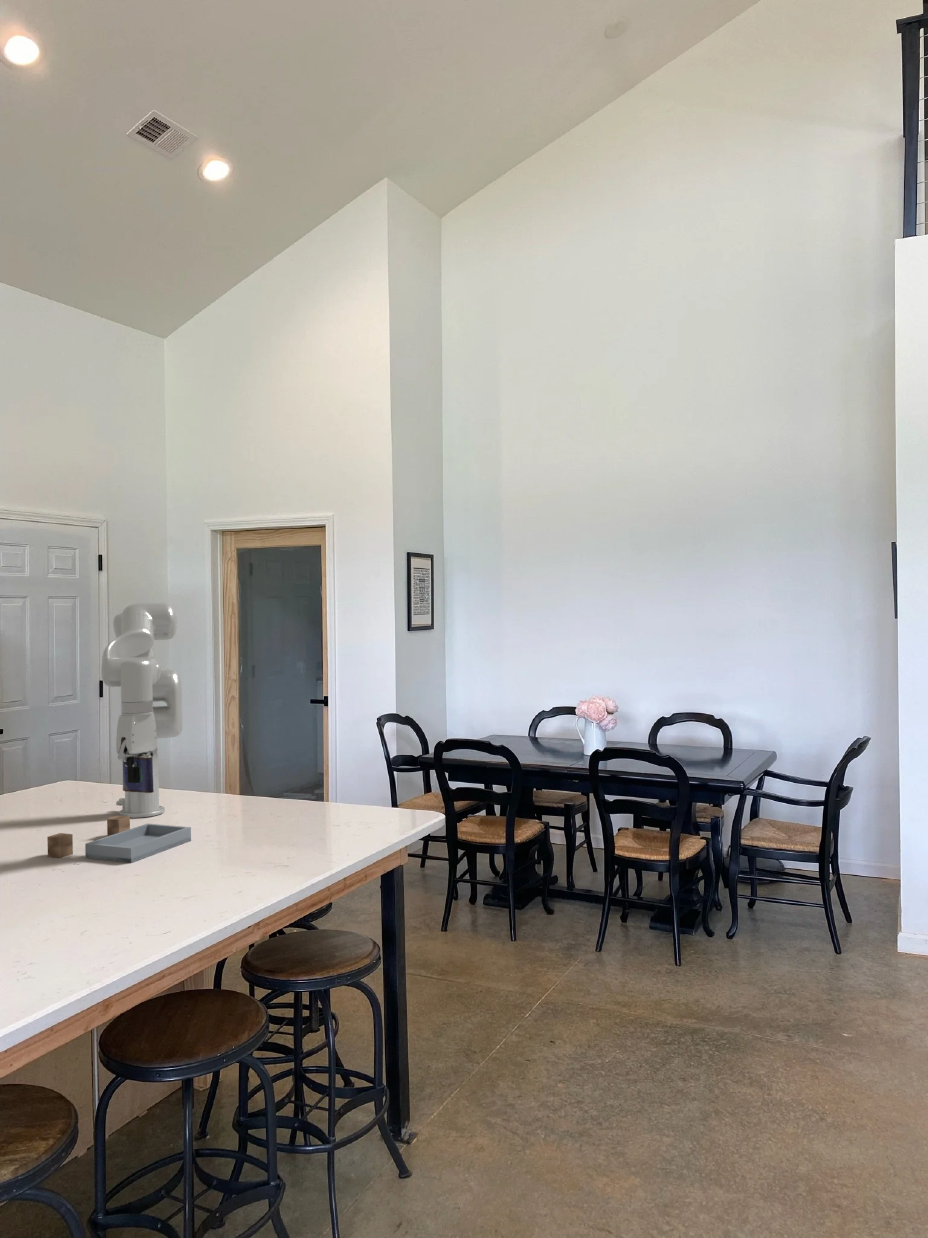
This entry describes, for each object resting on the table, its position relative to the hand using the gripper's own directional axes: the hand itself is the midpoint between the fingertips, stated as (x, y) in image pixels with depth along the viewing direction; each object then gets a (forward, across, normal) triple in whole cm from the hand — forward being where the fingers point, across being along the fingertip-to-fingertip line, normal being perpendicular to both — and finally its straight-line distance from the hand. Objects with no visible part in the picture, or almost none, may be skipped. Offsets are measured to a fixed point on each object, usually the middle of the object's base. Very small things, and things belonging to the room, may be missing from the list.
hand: (138, 780), depth 230 cm
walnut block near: (+17, +11, -15) cm, 25 cm away
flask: (+3, 0, 0) cm, 3 cm away
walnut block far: (+17, -9, -15) cm, 25 cm away
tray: (+17, 0, 0) cm, 17 cm away
